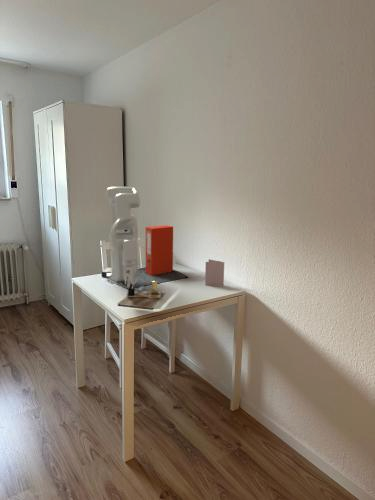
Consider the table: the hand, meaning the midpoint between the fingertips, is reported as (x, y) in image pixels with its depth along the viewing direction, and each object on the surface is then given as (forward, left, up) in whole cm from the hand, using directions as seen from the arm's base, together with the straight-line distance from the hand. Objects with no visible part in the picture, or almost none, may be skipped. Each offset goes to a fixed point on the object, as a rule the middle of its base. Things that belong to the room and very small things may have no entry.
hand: (131, 295), depth 192 cm
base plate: (+6, +2, -3) cm, 7 cm away
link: (+5, +5, -1) cm, 7 cm away
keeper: (+3, +6, -2) cm, 7 cm away
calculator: (-30, +42, -4) cm, 52 cm away
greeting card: (+37, +41, -4) cm, 56 cm away
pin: (+11, +6, -2) cm, 13 cm away
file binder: (-4, +58, -4) cm, 58 cm away
